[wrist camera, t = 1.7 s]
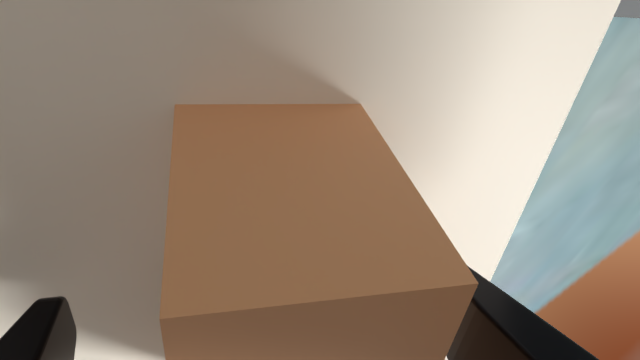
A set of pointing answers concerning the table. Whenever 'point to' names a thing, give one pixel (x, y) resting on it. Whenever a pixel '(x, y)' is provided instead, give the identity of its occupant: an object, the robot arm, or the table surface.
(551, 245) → the table surface
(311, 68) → the lid
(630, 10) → the rubber mat
